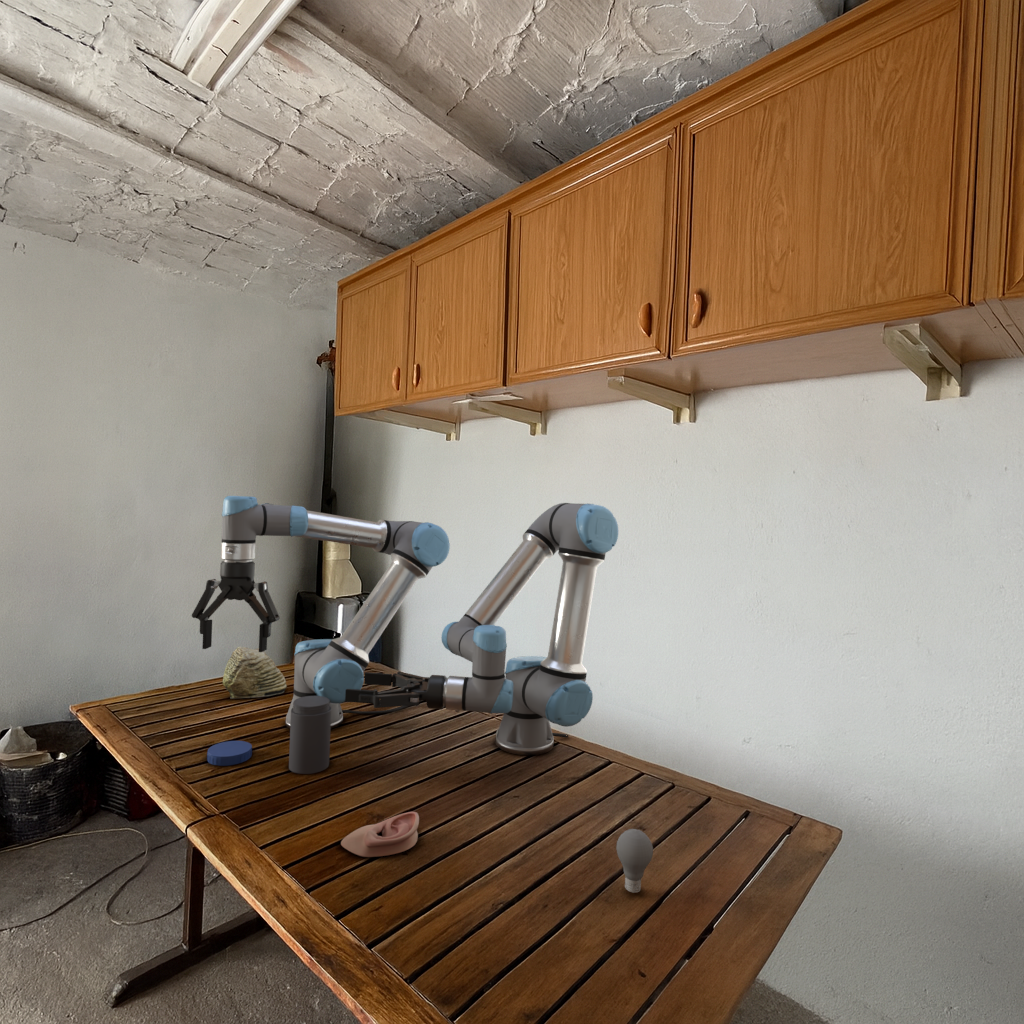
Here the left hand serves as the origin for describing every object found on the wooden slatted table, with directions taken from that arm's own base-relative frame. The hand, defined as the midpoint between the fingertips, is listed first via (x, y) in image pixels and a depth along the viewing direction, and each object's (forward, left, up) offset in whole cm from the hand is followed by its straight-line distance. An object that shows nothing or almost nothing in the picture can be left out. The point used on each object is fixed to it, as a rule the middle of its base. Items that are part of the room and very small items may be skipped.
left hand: (234, 649), depth 151 cm
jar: (-10, +17, -26) cm, 33 cm away
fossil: (-28, -39, -26) cm, 55 cm away
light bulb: (-19, +97, -26) cm, 102 cm away
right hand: (-16, +26, -6) cm, 31 cm away
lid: (0, 0, -24) cm, 24 cm away
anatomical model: (0, +55, -26) cm, 61 cm away
